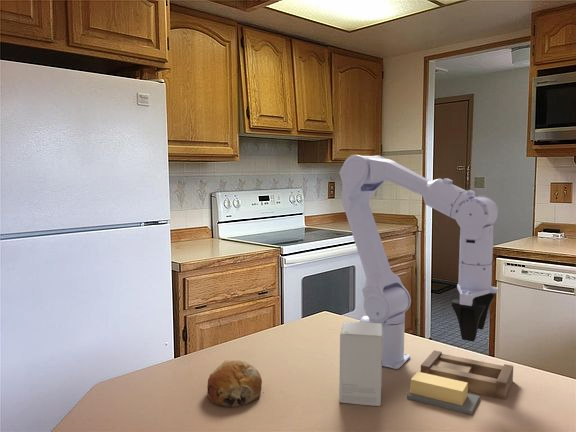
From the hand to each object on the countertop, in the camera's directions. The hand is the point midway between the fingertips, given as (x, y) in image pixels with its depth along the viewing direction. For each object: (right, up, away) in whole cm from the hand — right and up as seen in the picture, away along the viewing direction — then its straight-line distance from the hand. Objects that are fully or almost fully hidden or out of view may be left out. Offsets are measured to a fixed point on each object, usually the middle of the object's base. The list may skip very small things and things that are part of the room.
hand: (472, 334), depth 92 cm
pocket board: (0, -10, +3) cm, 10 cm away
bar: (-8, -10, -4) cm, 13 cm away
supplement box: (-22, -11, -3) cm, 24 cm away
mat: (-7, -10, -5) cm, 13 cm away
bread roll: (-44, -11, -3) cm, 46 cm away
